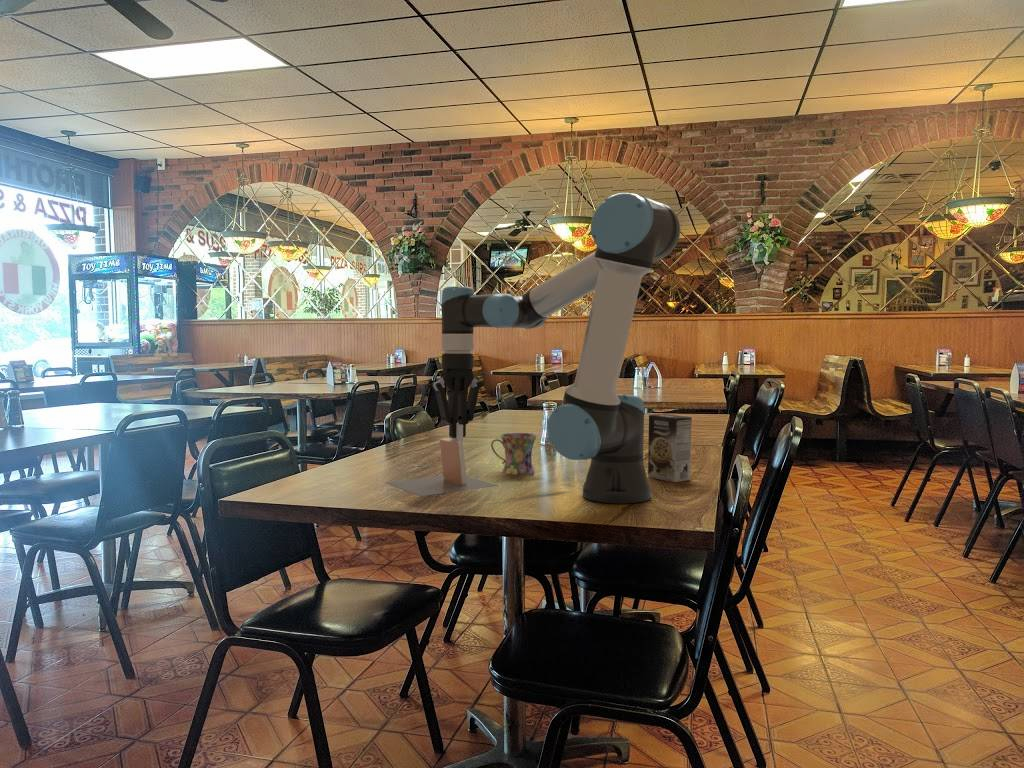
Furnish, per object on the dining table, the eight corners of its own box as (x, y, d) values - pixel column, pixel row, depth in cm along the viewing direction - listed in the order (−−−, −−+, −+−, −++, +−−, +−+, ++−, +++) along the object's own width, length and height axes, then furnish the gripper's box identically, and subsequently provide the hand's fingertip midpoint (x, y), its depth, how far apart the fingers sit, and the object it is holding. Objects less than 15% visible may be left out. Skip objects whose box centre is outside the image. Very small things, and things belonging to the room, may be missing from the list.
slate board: (497, 490, 171) (497, 485, 171) (421, 501, 159) (421, 496, 159) (457, 478, 186) (457, 473, 185) (385, 487, 174) (385, 482, 174)
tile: (467, 483, 172) (462, 442, 171) (461, 485, 171) (456, 443, 170) (449, 478, 178) (445, 438, 177) (443, 479, 177) (439, 439, 176)
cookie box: (646, 477, 188) (647, 414, 187) (663, 474, 192) (664, 413, 191) (674, 482, 181) (675, 417, 180) (691, 479, 184) (692, 416, 183)
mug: (540, 473, 193) (540, 433, 192) (531, 480, 184) (531, 438, 183) (496, 471, 196) (496, 431, 195) (485, 477, 187) (485, 436, 186)
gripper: (472, 351, 180) (472, 447, 182) (425, 352, 173) (425, 451, 174) (489, 352, 174) (488, 451, 175) (441, 353, 166) (441, 455, 168)
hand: (457, 451), depth 175 cm, fingers closed
